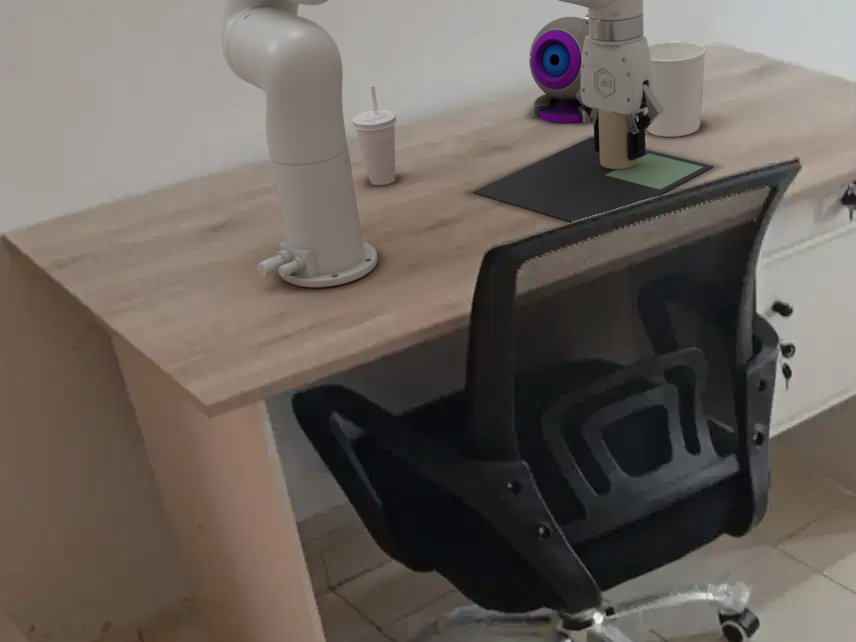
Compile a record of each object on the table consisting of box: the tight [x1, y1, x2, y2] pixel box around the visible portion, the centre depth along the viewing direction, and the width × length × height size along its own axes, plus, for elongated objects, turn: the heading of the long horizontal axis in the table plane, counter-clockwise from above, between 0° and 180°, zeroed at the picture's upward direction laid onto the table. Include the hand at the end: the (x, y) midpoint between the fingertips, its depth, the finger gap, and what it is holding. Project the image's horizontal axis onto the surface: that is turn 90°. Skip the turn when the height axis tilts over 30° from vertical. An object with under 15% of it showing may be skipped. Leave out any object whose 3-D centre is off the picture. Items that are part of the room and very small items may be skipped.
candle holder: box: [645, 40, 707, 138], centre depth 190 cm, size 10×10×12 cm
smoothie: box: [351, 85, 397, 186], centre depth 181 cm, size 6×6×14 cm
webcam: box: [529, 16, 590, 124], centre depth 200 cm, size 13×13×15 cm
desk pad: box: [472, 136, 714, 223], centre depth 178 cm, size 26×23×1 cm
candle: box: [598, 109, 638, 169], centre depth 179 cm, size 6×6×10 cm
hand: (619, 152), depth 181 cm, fingers closed on candle, 5 cm apart
